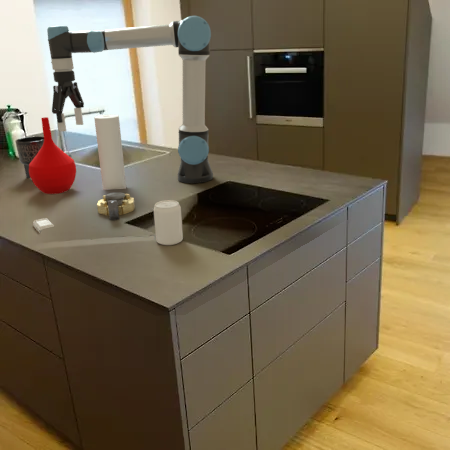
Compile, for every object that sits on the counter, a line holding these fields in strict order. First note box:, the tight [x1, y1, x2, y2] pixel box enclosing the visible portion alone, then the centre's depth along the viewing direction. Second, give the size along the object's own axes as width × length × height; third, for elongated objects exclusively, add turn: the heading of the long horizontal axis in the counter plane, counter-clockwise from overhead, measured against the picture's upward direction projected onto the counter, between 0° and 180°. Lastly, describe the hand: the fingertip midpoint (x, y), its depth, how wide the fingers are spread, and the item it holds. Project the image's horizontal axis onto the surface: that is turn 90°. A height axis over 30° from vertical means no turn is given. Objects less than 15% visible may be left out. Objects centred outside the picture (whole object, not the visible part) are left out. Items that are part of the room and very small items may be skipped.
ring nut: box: [96, 193, 136, 221], centre depth 181 cm, size 17×12×6 cm
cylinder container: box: [93, 114, 127, 191], centre depth 209 cm, size 9×9×30 cm
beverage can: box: [153, 199, 184, 246], centre depth 156 cm, size 8×8×12 cm
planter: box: [15, 135, 44, 179], centre depth 230 cm, size 13×13×18 cm
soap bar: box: [32, 217, 55, 234], centre depth 172 cm, size 5×9×3 cm, turn 33°
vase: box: [29, 117, 77, 195], centre depth 208 cm, size 18×18×30 cm
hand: (71, 127), depth 200 cm, fingers open, 13 cm apart
